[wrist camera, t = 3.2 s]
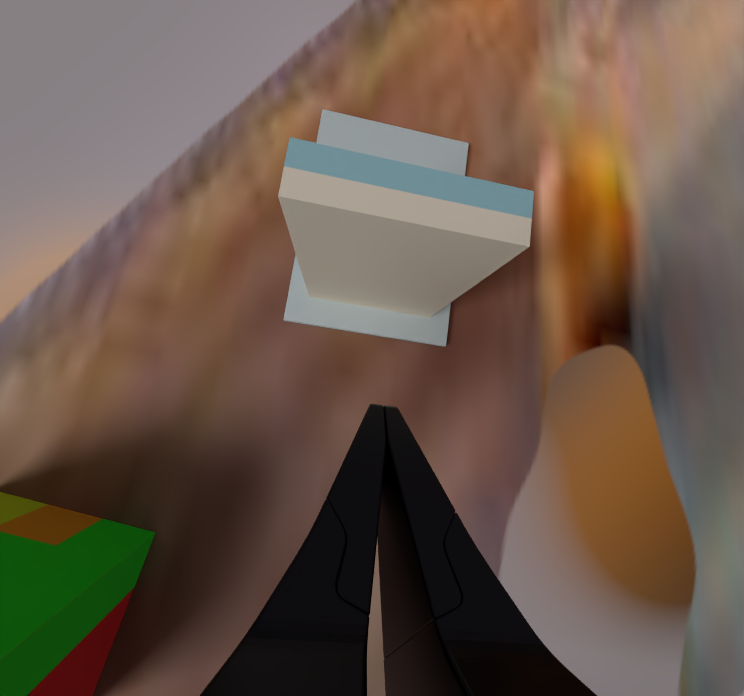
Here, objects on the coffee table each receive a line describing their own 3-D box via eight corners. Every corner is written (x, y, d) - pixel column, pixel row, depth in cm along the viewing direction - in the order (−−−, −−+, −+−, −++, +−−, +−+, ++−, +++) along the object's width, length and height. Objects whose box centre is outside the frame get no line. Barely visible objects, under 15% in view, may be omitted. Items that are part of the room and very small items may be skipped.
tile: (429, 317, 23) (529, 246, 11) (309, 297, 22) (278, 195, 10) (432, 289, 23) (534, 191, 11) (314, 268, 22) (289, 137, 10)
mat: (444, 346, 23) (445, 345, 23) (284, 320, 22) (283, 319, 22) (466, 146, 25) (468, 143, 25) (322, 113, 24) (322, 109, 24)
